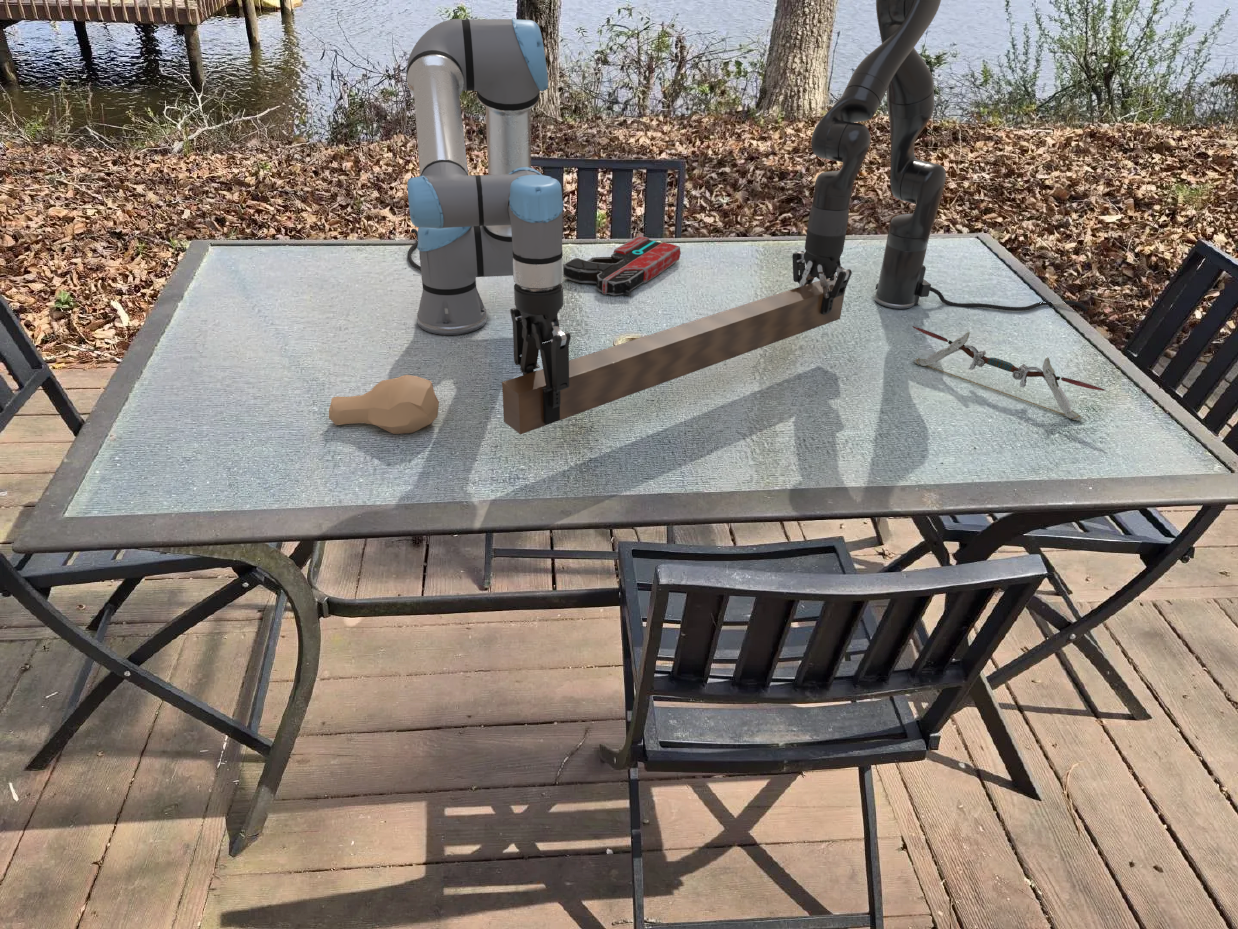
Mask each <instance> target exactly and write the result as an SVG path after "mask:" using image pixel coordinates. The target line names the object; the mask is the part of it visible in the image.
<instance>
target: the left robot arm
mask: <svg viewBox="0 0 1238 929" xmlns="http://www.w3.org/2000/svg"><path fill="white" fill-rule="evenodd" d="M406 83H407V87H408V90H409V92H410V93H411V95H412V96H413V98H414V111H415V123H416V124H415V125H416V126H415V127H416V140H417V153H418V154H417V155H418V170H419V176H414V177H410V178H408V179H407V183H406V185H407V186H406V187H407V200H408V209H409V218H410V222H411V224H412V225H413V226H414V227H416V228H418V229H416V228H411V229H410V233H411V234H415V236H416V241H415V243H414V244H413V245H411V246H410V248H409V249H408V251H407V260H408V262H409V263H410V265H411V266H412V267H414V268H415V269H417V270H418V271H420V275H421V276H420V277H421V284H422V292H421V297H420V302H419V305H418V310H417V313H416V318H417V325H418V326H419V328H420V329H421V330H423V331H424V332H427V333H430V334H433V335H440V336H459V335H465V334H469V333H473V332H476V331H477V330H480V329H481V328H483V327H484V326H485V325H486V323H487V320H488V316H487V309H486V306H485V304H484V302H483V299H482V298H481V295H480V293H479V291H478V288H477V278H489V277H491V278H493V277H512V279H513V282H514V285H513V294H514V295H513V296H514V306H515V307H513V308H510V310H509V312H510V316H511V322H512V342H513V344H512V345H513V362H514V365H515V366H519V369H520V372H521V373H522V375H526V374H529V373H532V372H535V371H538V370H539V369H540V368H541V366H540V364H538V359H539V353H540V358H541V363H542V369H543V371H544V377H545V383H546V387H545V388H542V389H543V409H544V424H546V426H548V425H551V424H554V423H557V422H560V421H561V420H560V404H561V401H560V400H561V399H560V390H563V389H566V388H569V360H570V349H569V348H570V347H569V346H570V343H571V338H572V336H571V333H570V332H569V331H566V332H563V331H562V329H561V328H560V321H559V318H558V313H559V312H560V310H562V308H563V306H564V284H563V283H562V282H563V280H564V277H563V264H564V263H563V260H564V258H563V255H564V254H563V209H564V201H563V192H562V185H561V183H560V181H559V180H558V179H556V178H554V177H552V176H550V175H545V174H542V173H541V172H540V171H539V170H537V169H535V168H532V108H534V107H535V106H536V105H537V104H538V103H539V101H540V92H544V91H547V90H548V88H549V76H548V68H547V60H546V53H545V47H544V42H543V36H542V32H541V28H540V26H539V25H538V24H537V22H536V21H534V20H532V19H518V18H517V19H516V18H515V17H512V18H480V19H479V18H478V19H477V18H475V19H472V18H470V19H469V18H468V19H467V18H465V19H464V18H463V19H462V18H452V19H447V20H443V21H442V22H439V23H437V24H434V25H433V26H432V27H430V28H429V29H428V30H427V31H425V33H424V34H422V36H421V37H420V38H419V39H418V41H416V43H415V45H414V47H413V48H412V50H411V52H410V54H409V57H408V60H407V65H406ZM463 91H466V92H476V98H477V101H478V102H479V103H480V104H481V105H482V106H483V107H484V108H485V128H486V129H485V130H486V151H487V152H486V154H487V174H483V175H482V174H481V175H480V174H473V175H471V174H470V175H469V170H468V160H467V151H466V141H465V132H464V124H463V117H462V116H463V114H462V107H461V99H460V96H461V95H462V92H463ZM417 240H418V241H417ZM416 248H417V250H418V252H419V253H418V255H419V263H420V265H419V264H418V263H416V262H415V261H414V260H413V259H412V253H413V251H414V250H415V249H416ZM537 369H538V370H537ZM556 421H557V422H556ZM553 422H554V423H553Z"/></svg>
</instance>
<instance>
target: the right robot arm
mask: <svg viewBox="0 0 1238 929" xmlns="http://www.w3.org/2000/svg"><path fill="white" fill-rule="evenodd" d="M941 2H942V0H875V10H876V19H877V25H878V30H879V36H880V41H881V44H880V45H879V46H877V47H876V48H875V49H873V50H872V51H871V52H870V53H869V54H868V55H866V56H865V58H864V59H863V60H861V62H859V64H858V65H857V67H856V68H855V69H854V71H853V73H852V74H851V77H850V79H849V81H848V83H847V85H846V87H845V89H844V91H843V93H842V95H841V96H840V97H839V99H838V100H836V102H835V103H834V105H832V107H831V108H830V109H828V111H827V112H826V113H825V114H824V115H823V117H822V118H821V119H820V120H819V121H818V122H817V124H816V126H815V128H814V130H813V132H812V135H811V139H810V146H811V151H812V153H813V154H814V156H816V157H817V158H820V159H824V160H829V161H835V162H840V163H842V165H841V168H840V169H839V170H830V171H824V172H821V173H819V174H818V175H817V176H816V179H815V184H814V189H813V196H812V203H811V208H810V211H809V215H808V222H807V227H806V228H807V229H806V235H805V241H804V242H805V243H804V250H799V251H796V252H794V253H792V257H791V259H792V280H793V282H795V283H797V284H798V285H799V286H798V287H801V286H804V285H807V284H810V283H813V282H814V281H815V279H818V281H819V280H820V285H821V287H823V294H824V297H823V299H822V305H821V312H820V313H821V314H823V315H825V314H828V313H829V312H830V311H831V310H832V306H833V300H834V298H836V297H839V296H842V295H843V294H844V291H845V292H846V289H847V286H848V284H849V281H850V279H851V276H852V273H853V271H852V270H851V269H850V268H847V269H845V267H843V266H842V263H841V256H842V254H843V252H844V248H845V243H846V242H845V241H846V235H847V231H848V224H849V213H850V204H851V198H852V192H853V187H854V184H855V181H856V179H857V176H858V174H859V171H860V168H861V166H862V165H863V162H864V160H865V158H866V156H867V154H868V151H869V149H870V146H871V133H870V131H869V129H868V127H867V126H866V125H865V124H863V123H861V122H867V121H870V120H871V119H872V118H873V117H874V116H875V115H876V113H877V111H878V109H879V107H880V104H881V103H882V101H883V99H884V97H885V94H886V101H887V102H886V103H887V113H888V121H889V135H890V136H889V138H890V163H889V164H890V166H889V168H890V170H889V187H890V191H891V195H892V196H893V197H894V198H895V199H897V200H899V201H902V202H906V203H909V204H912V205H915V208H914V210H913V212H912V213H904V214H903V213H902V214H899V215H896V216H893V217H892V218H891V220H890V223H889V226H888V227H889V228H888V232H887V239H886V243H885V248H884V253H883V258H882V262H881V267H880V273H879V277H878V283H876V285H875V290H876V291H875V294H874V301H875V302H876V303H877V304H878V305H880V306H882V307H885V308H889V309H895V310H905V309H910V308H913V307H915V306H917V305H918V304H919V300H920V298H928V297H929V296H930V292H932V293H934V294H935V295H936V296H937V297H938V299H939V301H940V302H941V303H942V304H945V305H946V306H951V307H958V308H959V307H960V308H984V309H993V310H999V311H1000V310H1001V311H1010V312H1025V311H1030V310H1033V309H1036V308H1039V307H1041V306H1054V305H1053V304H1052V303H1051V302H1046V303H1043V302H1044V301H1045V300H1043V302H1042V301H1038V302H1039V303H1038V302H1035V303H1033V304H1030V305H1027V306H1006V305H998V304H991V303H990V304H989V303H983V302H981V303H980V302H968V303H967V302H965V303H961V302H953V301H950V300H948V299H946V298H945V296H944V295H943V293H942V292H941V291H940V290H939V289H937V288H935V287H932V284H931V283H930V282H928V281H927V280H926V279H924V278H925V274H926V269H927V267H926V266H925V265H924V262H925V258H926V253H927V249H928V245H929V239H930V235H931V231H932V228H933V226H934V224H935V222H936V218H937V214H938V211H939V208H940V203H941V200H942V197H943V192H944V189H945V185H946V180H947V173H946V172H947V171H946V169H945V167H944V166H943V165H941V164H938V163H934V162H930V161H927V160H922V159H918V158H916V155H915V143H916V140H917V139H918V138H919V136H920V134H921V133H922V131H924V129H925V128H926V126H927V124H928V123H929V121H930V120H931V118H932V116H933V113H934V110H935V85H934V84H935V83H934V78H933V75H932V73H931V70H930V69H929V67H928V65H927V64H926V62H925V60H924V59H923V58H922V56H921V55H920V53H919V52H918V51H917V50H916V48H915V47H916V45H917V44H918V43H919V41H920V40H921V38H922V37H923V35H924V34H925V32H926V31H927V29H929V27H930V25H931V24H932V21H933V20H934V19H935V17H936V15H937V13H938V11H939V8H940V5H941ZM826 279H830V280H829V281H826ZM829 288H830V291H829ZM844 295H845V294H844ZM1062 301H1064V302H1065V303H1066V304H1065V305H1072V306H1075V307H1078V308H1080V309H1081V311H1083V312H1089V310H1088V307H1086V306H1085V305H1084V304H1083V303H1081V302H1079V301H1076V300H1071V299H1070V300H1069V299H1068V300H1067V299H1062ZM1041 302H1042V303H1041ZM1040 303H1041V304H1040Z"/></svg>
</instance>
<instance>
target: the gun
mask: <svg viewBox="0 0 1238 929" xmlns="http://www.w3.org/2000/svg"><path fill="white" fill-rule="evenodd" d="M681 253H682V252H681V246H679V245H676V244H673V243H669V242H665V241H663V242H660V241H657V240H652V239H650V238H649V237H647V236H642V235H638V236H636V237H634V238H632V239H631V240H629V241H627V242H625V243H624V244H622V245H620V246H618V247H616V248H615V249H614V248H613V253H612V254H610V256H594V257H593V256H592V257H591V258H589V259H587V260H585V259H582V258H579V257H575V258H573V259H571V260H568V261H567V262H564V263H563V278H565V279H566V280H569V281H572V282H575V283H580V284H596V290H597V291H598V292H599V293H602V295H611V296H619V295H624V296H628V297H630V296H632V291H633V290H634V289H636V288H637V287H639V286H641V285H642V284H647V283H648V282H649V281H651V280H652V279H654V278H655V277H658V276H659V275H660V274H662V273H663V272H664V271H665V270H667V269H669V267H671V266H672V265H674V264H675V263H677V262H678V261H679V260H680V257H681Z"/></svg>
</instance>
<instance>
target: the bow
mask: <svg viewBox="0 0 1238 929" xmlns="http://www.w3.org/2000/svg"><path fill="white" fill-rule="evenodd" d="M912 328H914V329H915V330H917V331H919V332H920V333H922V334H924V335H927V336H929V337H931V338H934V339H936V340H939V341H942V342H945V343H947V344H948V347H944V348H942V349H939V350H938V351H935V352H934V353H931V355H930V356H928V357H927V358H915V359H913V362H914V364H917V365H918V366H923V367H928V368H931V369H933V370H936V371H939V372H942V373H944V374H948V375H950V376H953V377H956V378H958V379H962V380H964V381H967V382H970V383H973V384H975V385H979V386H981V387H984V388H987V389H990V390H992V391H996V392H998V393H1000V394H1003V395H1007V396H1010V397H1013V398H1015V399H1018V400H1021V401H1023V402H1026V403H1028V404H1032V405H1035V406H1037V407H1040V408H1044V409H1047V410H1049V411H1052V412H1054V413H1057V414H1060V415H1063V416H1066V417H1067V418H1069V419H1071V420H1073V421H1081V420H1082V419H1083V416H1082V415H1081V414H1079V413H1077V412H1076V411H1074V410H1073V409H1072V408H1071V404H1070V401H1069V398H1068V397H1067V395H1066V394H1065V392H1064V390H1063V388H1062V387H1061V386H1060V385H1059V381H1060V380H1061V381H1063V382H1065V383H1068V384H1071V385H1074V386H1078V387H1081V388H1085V389H1090V390H1097V391H1102V392H1104V391H1106V389H1105V388H1101V387H1099V386H1096V385H1093V384H1090V383H1087V382H1083V381H1080V380H1077V379H1072V378H1068V377H1064V376H1062V377H1061V376H1058V375H1056V371H1055V369H1054V368H1053V366H1052V364H1051V360H1050V357H1049V356H1047V357H1045V358H1044V360H1043V362H1042V363H1043V364H1042V368H1039V367H1037V366H1027V365H1026V364H1025V363H1022V364H1021V365H1020V366H1019V367H1017V366H1015V365H1014V364H1013V363H1012V362H1009V361H1007V360H1004V359H1000V358H997V357H987V356H986V354H987V352H986V350H978V349H977V348H976V347H975V346H973V345H970V344H966V343H967V342H968V340H969V337H970V333H971V332H970V331H967V332H965V333H964V334H963V335H962V336H961V337H959V338H957V339H955V340H954V341H953V340H949V339H948V338H946V337H944V336H941V335H939V334H937V333H935V332H932V331H929V330H926V329H923V328H921V327H917V326H914V325H912ZM958 351H963V353H965V354H966V355H967V356H968V357H970V358H971V359H972V361H971V363H970V365H969V367H968V370H971V371H974V370H975V369H976V366H977V367H979V368H982V367H984V366H985V364H986V365H989V366H991V367H993V368H997V369H999V370H1002V371H1006V372H1009V373H1012V374H1011V376H1012V378H1013V379H1015V380H1018V381H1020V382H1019V387H1020V388H1023V389H1024V388H1025V387H1026V386H1027V378H1039V377H1040V378H1043V379H1044V381H1045V383H1046V384H1047V386H1048V387H1049V389H1050V390H1051V393H1052V395H1053V397H1054V399H1055V401H1056V403H1057V406H1058V407H1059V408H1060V410H1061V411H1062V412H1060V411H1057V410H1055V409H1052V408H1049V407H1046V406H1043V405H1041V404H1037V403H1035V402H1032V401H1029V400H1026V399H1023V398H1020V397H1017V396H1015V395H1013V394H1009V393H1007V392H1005V391H1001V390H998V389H995V388H993V387H990V386H987V385H984V384H981V383H979V382H977V381H976V382H975V381H972V380H970V379H967V378H964V377H961V376H958V375H956V374H953V373H950V372H947V371H944V370H941V369H938V368H936V367H933V366H931V365H932V364H934V363H935V364H936V363H938V362H939V361H941V360H943V359H944V358H946V357H948V356H950V355H952V354H954V353H956V352H958Z"/></svg>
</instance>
